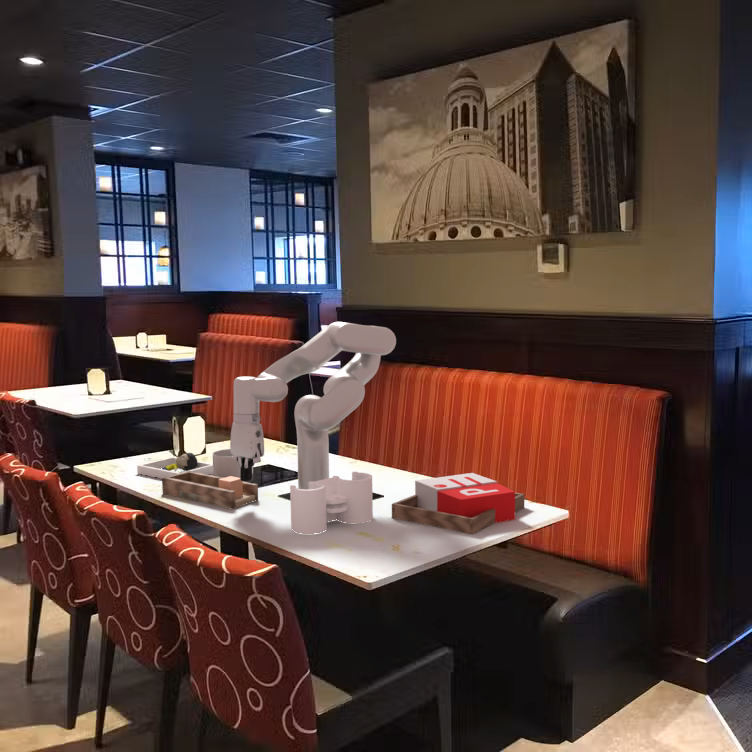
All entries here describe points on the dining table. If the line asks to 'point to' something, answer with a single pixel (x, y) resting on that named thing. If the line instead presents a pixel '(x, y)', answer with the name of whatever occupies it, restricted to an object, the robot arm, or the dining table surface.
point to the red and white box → (466, 496)
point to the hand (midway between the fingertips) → (246, 480)
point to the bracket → (331, 503)
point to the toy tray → (156, 471)
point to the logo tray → (447, 516)
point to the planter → (226, 465)
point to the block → (231, 484)
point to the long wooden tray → (207, 489)
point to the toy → (183, 463)
